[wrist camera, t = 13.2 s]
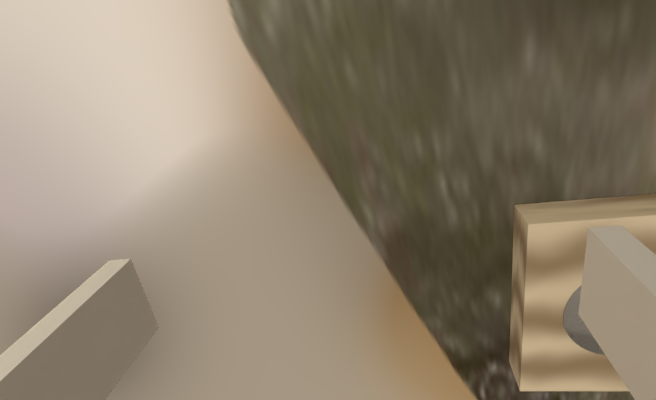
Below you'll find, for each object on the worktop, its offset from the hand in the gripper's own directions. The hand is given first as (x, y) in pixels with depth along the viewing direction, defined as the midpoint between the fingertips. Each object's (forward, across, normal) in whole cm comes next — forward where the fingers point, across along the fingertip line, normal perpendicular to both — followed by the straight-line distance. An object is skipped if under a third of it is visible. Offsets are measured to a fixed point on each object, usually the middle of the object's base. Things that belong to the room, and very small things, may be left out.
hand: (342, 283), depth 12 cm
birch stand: (+27, +21, -21) cm, 40 cm away
